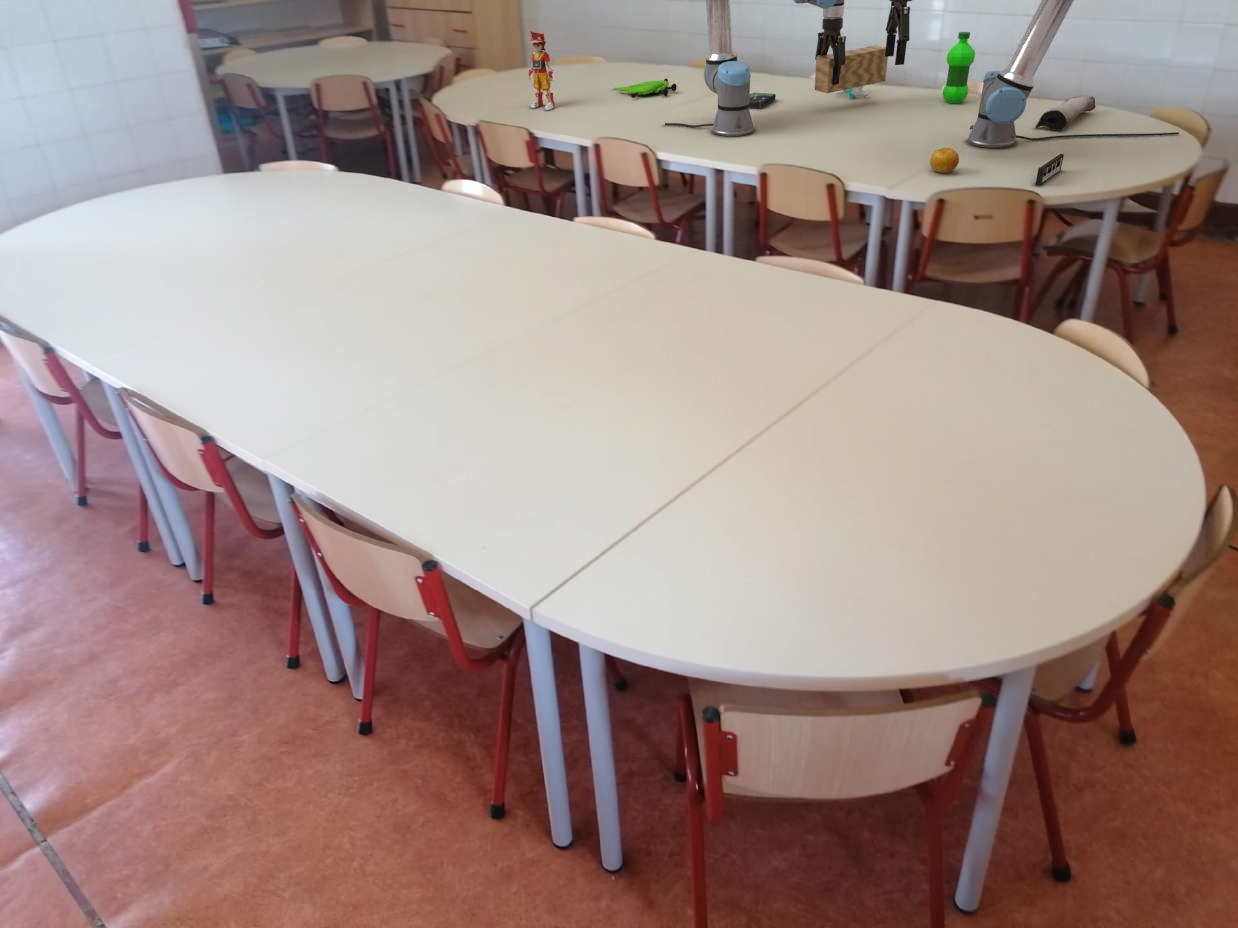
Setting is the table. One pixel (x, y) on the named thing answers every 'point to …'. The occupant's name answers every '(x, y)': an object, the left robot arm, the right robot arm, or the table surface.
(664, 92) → the toy
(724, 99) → the left robot arm
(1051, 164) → the midi keyboard
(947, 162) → the fruit
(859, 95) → the anatomical model
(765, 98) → the disk drive
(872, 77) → the box
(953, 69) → the plastic bottle
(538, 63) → the toy
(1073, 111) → the rolled mat
